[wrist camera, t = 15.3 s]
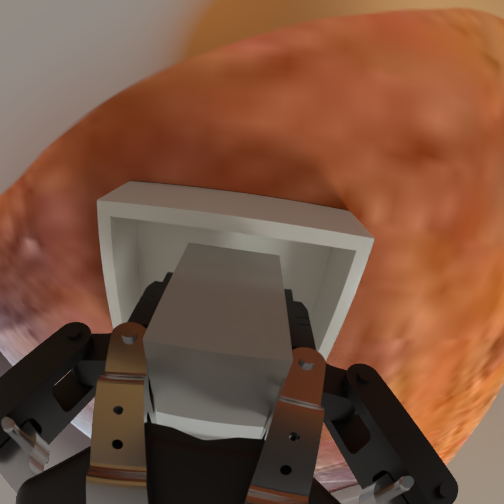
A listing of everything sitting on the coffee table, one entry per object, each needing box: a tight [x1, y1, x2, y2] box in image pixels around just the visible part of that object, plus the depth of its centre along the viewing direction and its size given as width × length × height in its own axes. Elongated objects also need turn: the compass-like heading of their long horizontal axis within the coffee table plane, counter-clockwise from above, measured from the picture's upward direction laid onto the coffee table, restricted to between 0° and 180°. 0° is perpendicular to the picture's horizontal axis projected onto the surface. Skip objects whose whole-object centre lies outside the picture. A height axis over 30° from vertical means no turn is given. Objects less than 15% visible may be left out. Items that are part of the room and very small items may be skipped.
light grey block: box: [143, 243, 293, 427], centre depth 10 cm, size 4×4×6 cm
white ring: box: [330, 484, 362, 504], centre depth 45 cm, size 27×27×6 cm
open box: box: [97, 181, 374, 361], centre depth 16 cm, size 12×12×4 cm
